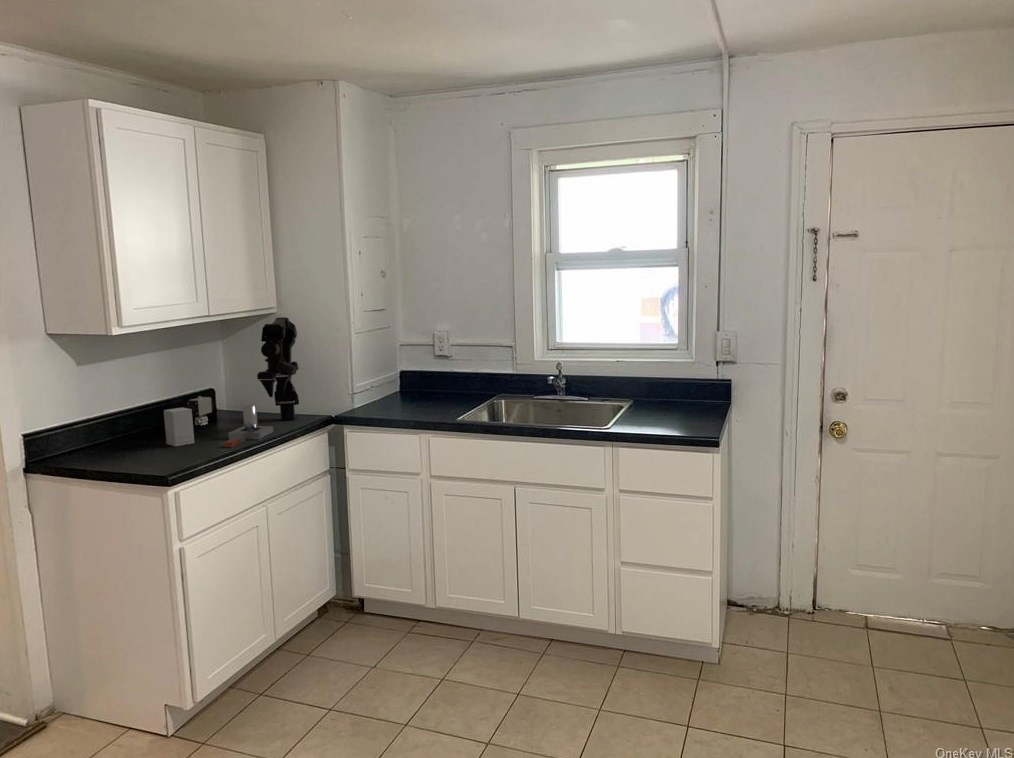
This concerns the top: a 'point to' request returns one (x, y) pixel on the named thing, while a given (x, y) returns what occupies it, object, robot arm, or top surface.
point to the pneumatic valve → (201, 408)
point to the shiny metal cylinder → (250, 418)
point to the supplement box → (179, 426)
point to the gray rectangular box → (247, 435)
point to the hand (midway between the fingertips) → (276, 395)
